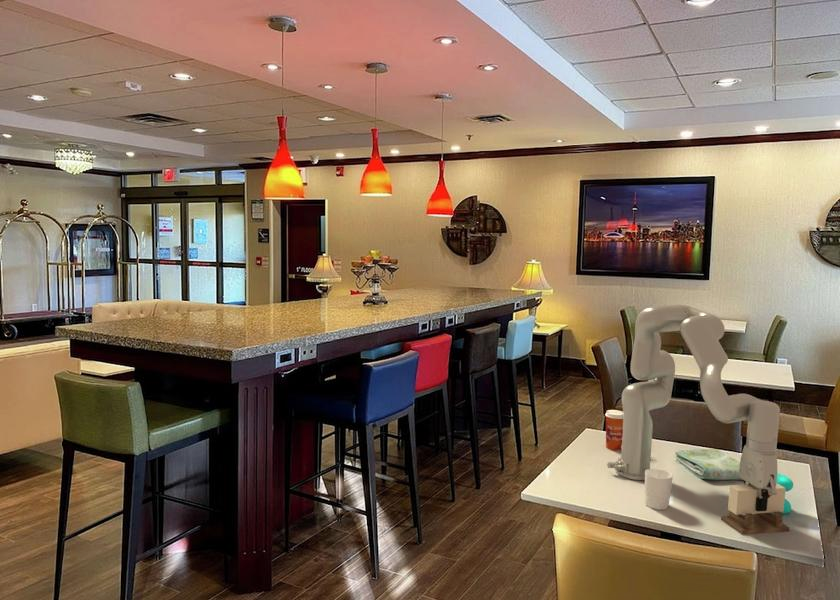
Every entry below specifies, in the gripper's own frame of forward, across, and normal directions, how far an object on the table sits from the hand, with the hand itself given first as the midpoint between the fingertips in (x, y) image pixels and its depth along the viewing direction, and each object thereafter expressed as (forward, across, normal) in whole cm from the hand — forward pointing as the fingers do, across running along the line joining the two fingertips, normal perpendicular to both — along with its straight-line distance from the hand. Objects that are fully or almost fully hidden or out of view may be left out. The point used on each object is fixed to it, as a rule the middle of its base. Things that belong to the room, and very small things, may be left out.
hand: (755, 506), depth 179 cm
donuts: (+6, -9, +13) cm, 17 cm away
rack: (+5, 0, 0) cm, 5 cm away
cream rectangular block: (+1, 0, 0) cm, 1 cm away
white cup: (+6, -16, -21) cm, 27 cm away
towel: (+6, -40, +14) cm, 43 cm away
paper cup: (+6, -65, -10) cm, 66 cm away
